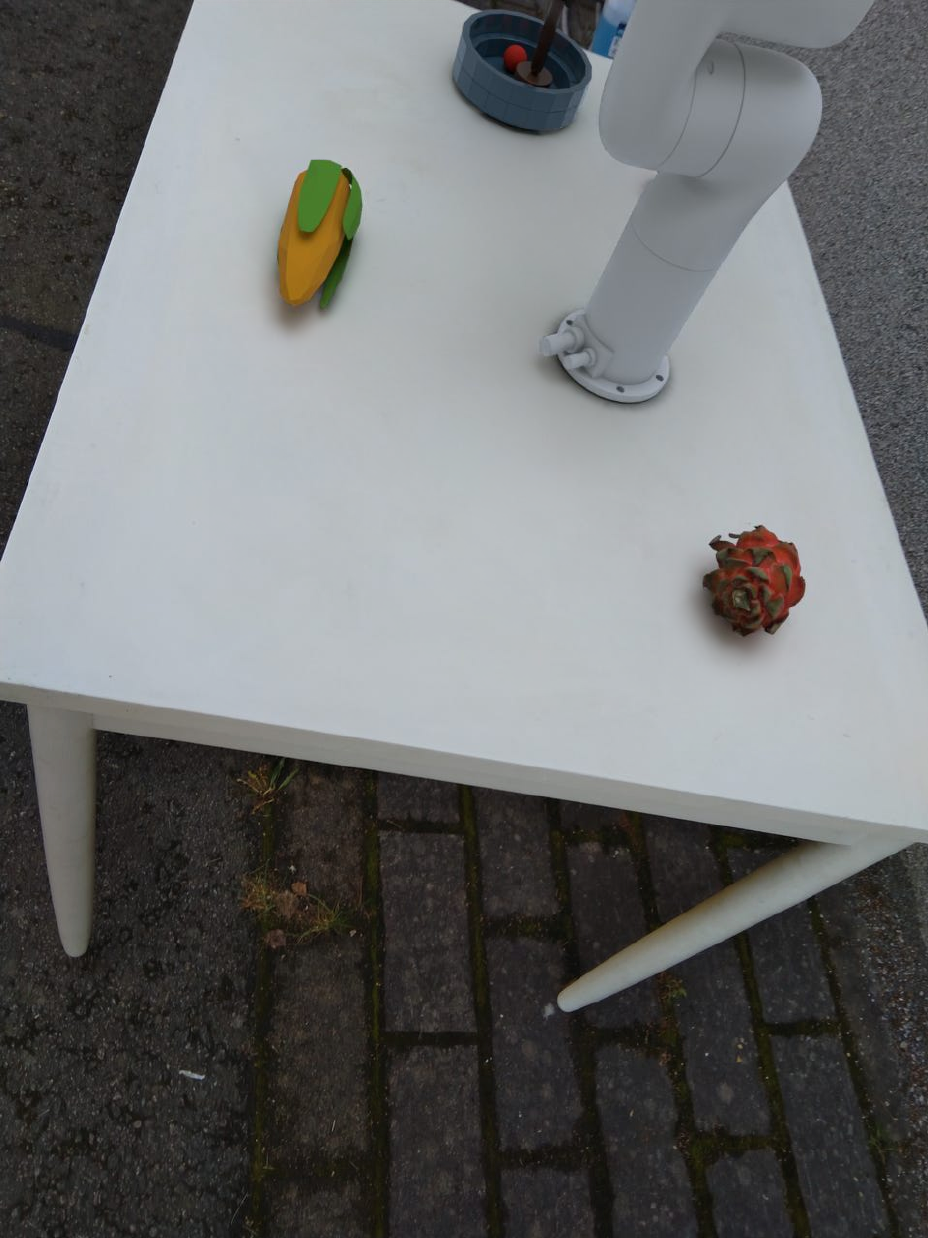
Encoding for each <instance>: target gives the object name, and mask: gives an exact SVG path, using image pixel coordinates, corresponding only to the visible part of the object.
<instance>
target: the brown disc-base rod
mask: <svg viewBox="0 0 928 1238" xmlns="http://www.w3.org/2000/svg"><path fill="white" fill-rule="evenodd" d="M550 1H551V2H550V5H549V7H548V11H547V14H546V17H545V20H544V22H545V23H544V26H543V29H542V32H541V35H540V38H539V41H538V44H537V47H536V50H535V53H534V56H533V59H532V62H530V61H523V62H520V63H519V64H518V65H517V67H516V70H515V73H514V80H516V81H519V82H522V83H525V84H530V85H532V86H534V87H540V88H547V89H550V86H551V83H552V80H553V78H552V75H551V73H550V72H549V71H548V70H547V69H546V68H545V67H544V64H545V61H546V58H547V55H548V53H549V50H550V47H551V44H552V41H553V38H554V35H555V32H556V29H558V27H559V23H560V21H561V17H562V14H563V12H564V8H565V5H564V3H565V0H550Z"/></svg>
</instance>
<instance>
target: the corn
mask: <svg viewBox="0 0 928 1238" xmlns="http://www.w3.org/2000/svg"><path fill="white" fill-rule="evenodd" d="M342 167H343V166H342V164H339V163H337V162H335V161H333V160H331V159H310V162H309V164H308V167H307V169H306V170H303V171H302V172H300V173H298V175H297V177H296V179H295V181H294V184H293V187H292V190H291V194H290V197H289V201H288V205H287V208H286V212H285V215H284V220H283V223H282V226H281V230H280V233H279V238H278V242H277V255H276V259H277V264H278V283H279V285H278V286H279V294H280V296H281V297H282V298H283V300H284V302H285V303H287V304H290V305H292V306H295V307H298V306H300V305H302V304H304V303H306V302H308V301H310V300H311V298H312V297H313V296H314V294H316V292H317V291H318V289H319V288H320V287H321V286H322V284H324V287H323V290H322V291H323V292H322V294H321V295H322V296H321V299H320V307H321V308H326V307H327V306H328V303H329V302H330V300H331V298H332V297H333V295H334V293H335V292H336V289H337V288H338V286H339V284H340V282H341V281H342V280H343V277H344V273H345V269H346V267H347V265H348V261H349V259H350V255H351V251H352V246H353V241H354V237H355V235H356V233H357V230H358V229H359V227H360V224H361V218H362V213H363V195H362V189H361V186H360V184H359V182H358V180H357V178H356V176H355V175H354V173H353V172H352V171H351V170H350V169H349V168H348V167H344V168H342Z"/></svg>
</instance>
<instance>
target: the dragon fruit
mask: <svg viewBox="0 0 928 1238" xmlns="http://www.w3.org/2000/svg"><path fill="white" fill-rule="evenodd" d="M751 524H753V523H748V525H751ZM742 525H745V524H742ZM753 528H755V529H753V530H750V531H749V530H744V531H742V532H741V533H740V534H739V533H732V532H729V533H728V534H727V536H728V538H730V539H737V540H736V543H735V544H734V543H733V542H730V541H729V540H721V539H722V535H721V534H718V535H716V536H715V537H714V538H712V539H711V541H710V542H709V543H708V546H709V547H710V548H711V549H712V550H713V551H716V553H715V560H716V562H717V565H718V568H717V569H714V570H711V571H710V572H709V573H706V574H704V575H703V577H702V581H701V582H702V584H701V585H702V588H703V589H704V588H706V589H707V590H709V591H710V592H711V593H712V594H713V597H712V600H711V605H710V606H711V610H712V612H713V614H714V615H715V616H718V617H721V618H722V619H726V620H728V621H730V623H731V629H732V632H734V633H736V634H737V635H739V636H741V637H743V638H745V637H748V636H749V635H751V634H754V633H756V632H757V631H758V630H759V629H760V628H761V627H762V628H763V631H764V632H765V633H767V634H769V635H771V636H774V635H775V634H776V633H777V631H778V630H779V629H780V628H781V627H782V625H783V624H784V623H785V622H786V620H787V619H788V617H789V616H790V609H791V608H794V607H795V606H797V605H798V604H799V603H800V602H801V601H802V599H803V598H804V597H805V594H806V593H805V592H806V584H807V583H806V579H805V578H804V577H803V575H801V572H802V566H801V562H800V556H799V552H798V548H797V547H796V545H795V543H794V542H792V541H790V542H788V541H783V540H780V539H779V538H778V536H777V534H776V533H775V532H772V531H771V530H769V529H768V528H766V526H764V525H763V524H758V525H753Z"/></svg>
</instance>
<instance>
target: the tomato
mask: <svg viewBox="0 0 928 1238" xmlns="http://www.w3.org/2000/svg"><path fill="white" fill-rule="evenodd" d="M523 61H527V56H526V52H525V50H524V49H523V48H522V47H521V46H519V45H512V46H510V47H508V48H507V50H506V51H505V53H504V56H503V62H504V65H505V67H506V69H507V70H509V71H510V72H514V73H515V70H516V67H517V65H518V64H519V63H520V62H523Z"/></svg>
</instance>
